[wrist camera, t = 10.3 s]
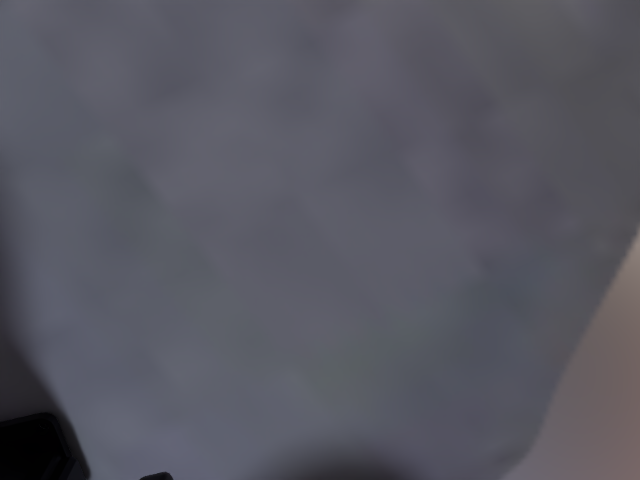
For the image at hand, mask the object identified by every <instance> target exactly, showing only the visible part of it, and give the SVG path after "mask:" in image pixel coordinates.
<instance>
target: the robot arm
mask: <svg viewBox="0 0 640 480" xmlns="http://www.w3.org/2000/svg"><path fill="white" fill-rule="evenodd" d="M39 424H44V425H46V426H47V427H48V429H44V428H42V427H40V425H39ZM0 480H85V477H84V475H83V472H82V470H81V467H80V465H79V462H78V460H77V459H76V458H74V457H73V456H72V454H71V452H70V449H69V447H68V444H67V442H66V439H65V437H64V434H63V432H62V429H61V427H60V424H59V422H58V420H57V418H56V417H55V416H54V415H52V414H50V413H39V414H35V415H30V416H26V417H22V418H17V419H13V420H9V421H5V422H0ZM140 480H173V478H172V476H171V475H170V474H169V473H167V472H162V473H157V474H153V475H148V476H145V477H142V478H141V479H140Z"/></svg>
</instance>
